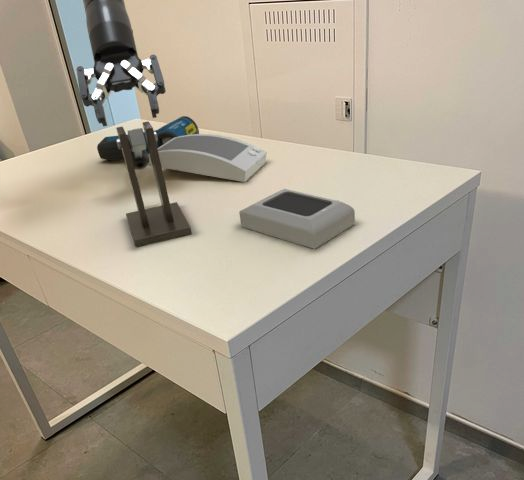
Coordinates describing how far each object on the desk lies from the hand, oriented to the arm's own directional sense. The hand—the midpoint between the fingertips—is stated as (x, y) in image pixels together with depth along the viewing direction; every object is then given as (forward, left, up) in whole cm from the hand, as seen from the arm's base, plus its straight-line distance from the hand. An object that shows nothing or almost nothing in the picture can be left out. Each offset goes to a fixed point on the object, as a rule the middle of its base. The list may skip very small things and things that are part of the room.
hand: (129, 119), depth 93 cm
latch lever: (0, -10, -4) cm, 11 cm away
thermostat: (+14, +8, -14) cm, 21 cm away
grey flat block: (+20, -26, -14) cm, 35 cm away
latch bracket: (0, -14, -14) cm, 20 cm away
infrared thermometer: (+5, +28, -14) cm, 32 cm away
